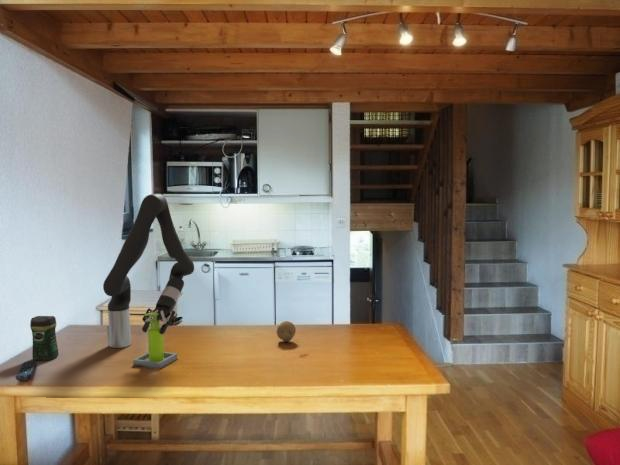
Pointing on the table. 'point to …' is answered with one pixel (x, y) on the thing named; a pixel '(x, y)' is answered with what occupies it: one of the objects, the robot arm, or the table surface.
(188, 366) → the table surface
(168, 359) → the tray
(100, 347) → the table surface
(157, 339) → the soap dispenser
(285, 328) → the natural sponge
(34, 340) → the coffee jar
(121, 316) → the robot arm
